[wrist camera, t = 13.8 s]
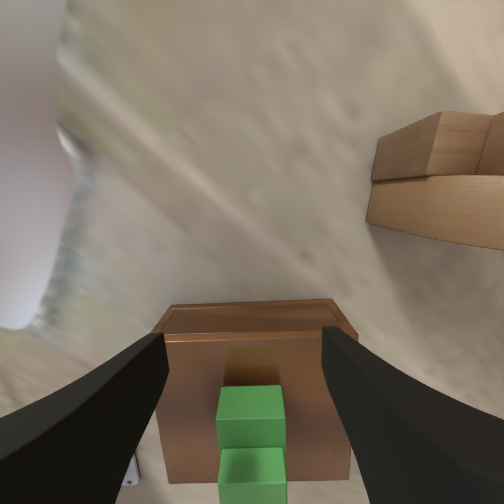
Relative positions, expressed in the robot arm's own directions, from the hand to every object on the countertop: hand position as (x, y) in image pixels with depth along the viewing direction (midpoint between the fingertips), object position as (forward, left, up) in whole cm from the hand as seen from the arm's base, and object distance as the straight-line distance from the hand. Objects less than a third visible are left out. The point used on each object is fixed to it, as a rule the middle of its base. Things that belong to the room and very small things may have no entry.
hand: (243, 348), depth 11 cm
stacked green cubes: (0, -9, -5) cm, 10 cm away
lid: (0, -9, -6) cm, 11 cm away
